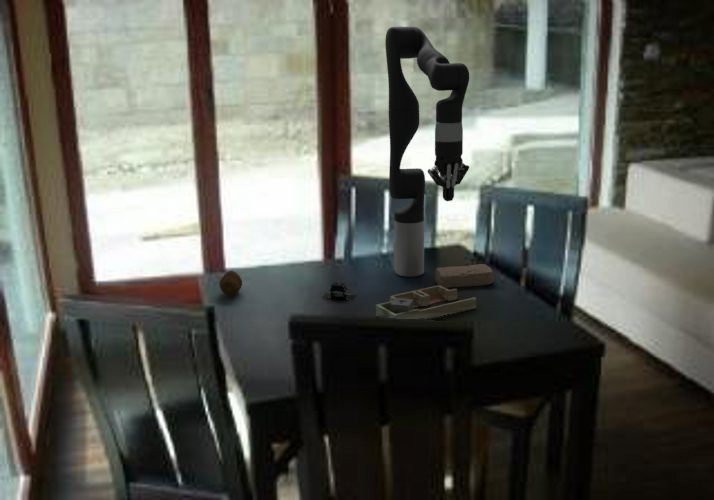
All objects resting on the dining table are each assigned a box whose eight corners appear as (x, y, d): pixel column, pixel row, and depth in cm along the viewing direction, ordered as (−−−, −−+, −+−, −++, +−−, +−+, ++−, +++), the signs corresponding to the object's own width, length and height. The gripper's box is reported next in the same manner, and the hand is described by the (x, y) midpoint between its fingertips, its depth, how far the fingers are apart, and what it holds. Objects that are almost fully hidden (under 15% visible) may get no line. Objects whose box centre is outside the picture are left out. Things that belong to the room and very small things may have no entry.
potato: (219, 301, 239) (218, 279, 237) (220, 289, 250) (218, 267, 248) (243, 300, 240) (241, 277, 238) (242, 287, 251) (241, 265, 249)
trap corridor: (366, 311, 229) (366, 299, 228) (445, 293, 242) (445, 282, 241) (394, 327, 217) (394, 315, 216) (476, 308, 230) (476, 296, 229)
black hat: (362, 296, 243) (362, 281, 241) (355, 304, 236) (355, 289, 235) (322, 293, 246) (321, 278, 245) (314, 301, 239) (314, 286, 238)
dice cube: (413, 316, 225) (413, 299, 223) (408, 323, 220) (408, 305, 219) (395, 315, 226) (395, 297, 225) (390, 321, 222) (390, 304, 220)
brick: (439, 289, 246) (440, 274, 245) (433, 280, 254) (433, 266, 253) (494, 285, 248) (494, 271, 247) (486, 277, 256) (486, 262, 255)
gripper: (460, 134, 231) (459, 194, 236) (420, 139, 224) (420, 201, 229) (476, 137, 224) (475, 199, 229) (436, 142, 218) (436, 206, 223)
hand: (448, 200), depth 229 cm, fingers closed
